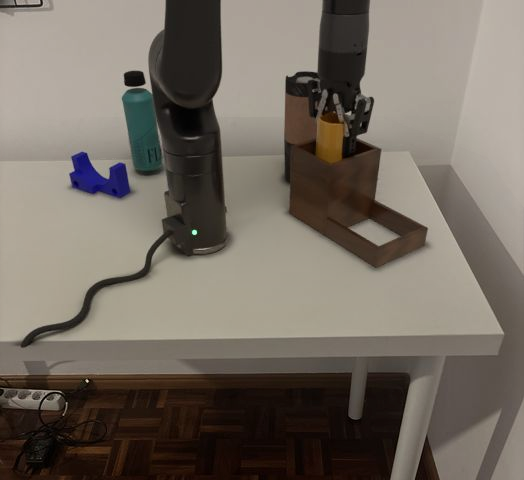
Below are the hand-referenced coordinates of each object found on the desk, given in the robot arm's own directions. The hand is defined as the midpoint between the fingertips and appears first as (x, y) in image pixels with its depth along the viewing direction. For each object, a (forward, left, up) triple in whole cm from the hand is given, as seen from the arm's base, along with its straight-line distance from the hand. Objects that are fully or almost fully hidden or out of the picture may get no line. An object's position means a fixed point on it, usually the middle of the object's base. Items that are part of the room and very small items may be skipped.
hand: (335, 150), depth 98 cm
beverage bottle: (-19, +38, -13) cm, 45 cm away
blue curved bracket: (-31, +36, -13) cm, 49 cm away
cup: (-1, 0, -3) cm, 4 cm away
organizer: (0, -7, -12) cm, 14 cm away
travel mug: (+5, +15, -13) cm, 21 cm away
